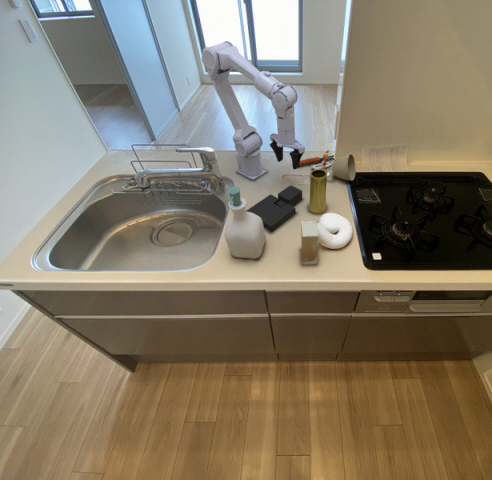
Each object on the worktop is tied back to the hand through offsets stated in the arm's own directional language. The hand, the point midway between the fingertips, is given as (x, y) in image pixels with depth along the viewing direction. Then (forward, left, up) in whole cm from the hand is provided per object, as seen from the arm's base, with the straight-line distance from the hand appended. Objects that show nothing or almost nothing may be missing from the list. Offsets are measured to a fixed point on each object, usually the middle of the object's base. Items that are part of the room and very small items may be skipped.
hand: (287, 164), depth 102 cm
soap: (+2, +18, -10) cm, 20 cm away
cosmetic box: (+29, -23, -10) cm, 38 cm away
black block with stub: (+7, -8, -9) cm, 14 cm away
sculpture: (+29, -11, -10) cm, 32 cm away
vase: (+17, -4, -10) cm, 20 cm away
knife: (+2, +22, -7) cm, 23 cm away
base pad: (+7, -17, -9) cm, 20 cm away
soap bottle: (+12, -32, -9) cm, 35 cm away
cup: (+9, +17, -6) cm, 20 cm away
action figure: (+5, +16, -9) cm, 19 cm away
